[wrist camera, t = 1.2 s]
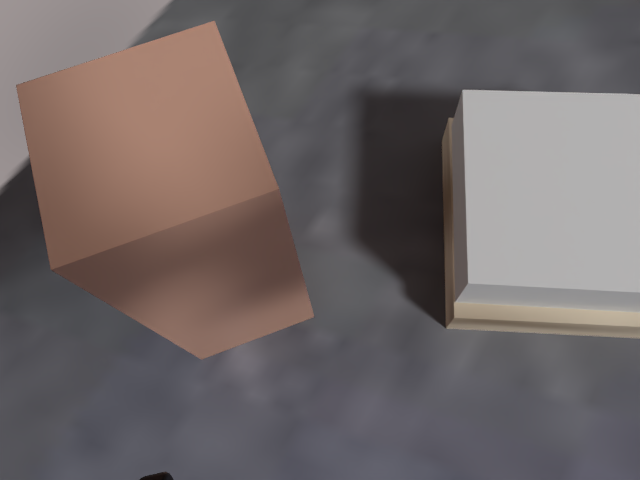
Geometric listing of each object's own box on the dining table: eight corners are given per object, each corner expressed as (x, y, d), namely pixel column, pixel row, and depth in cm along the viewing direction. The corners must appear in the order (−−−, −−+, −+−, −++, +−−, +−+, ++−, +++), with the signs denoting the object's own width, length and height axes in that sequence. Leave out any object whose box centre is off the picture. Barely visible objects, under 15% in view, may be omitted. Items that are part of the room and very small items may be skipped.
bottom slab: (665, 342, 22) (702, 330, 20) (443, 331, 23) (454, 317, 20) (632, 152, 25) (661, 122, 23) (439, 147, 26) (448, 117, 24)
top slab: (672, 314, 20) (714, 296, 18) (455, 302, 21) (468, 283, 18) (641, 131, 23) (674, 95, 21) (451, 125, 23) (462, 89, 21)
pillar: (314, 316, 23) (278, 189, 11) (201, 359, 22) (50, 270, 11) (276, 216, 24) (214, 20, 13) (171, 254, 24) (16, 85, 13)
